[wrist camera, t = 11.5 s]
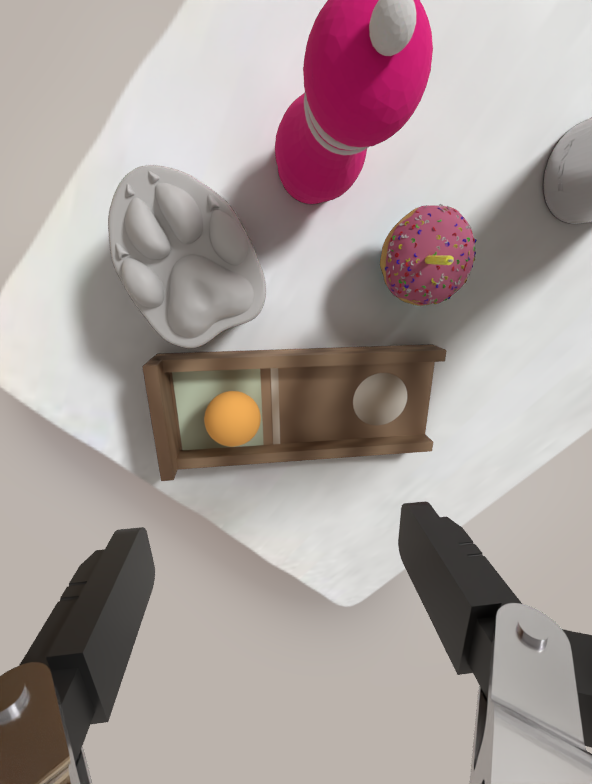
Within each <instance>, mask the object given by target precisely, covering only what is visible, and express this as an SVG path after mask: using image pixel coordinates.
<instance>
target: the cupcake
mask: <svg viewBox="0 0 592 784" xmlns="http://www.w3.org/2000/svg"><path fill="white" fill-rule="evenodd" d="M475 242H476V239H474V237H473V233H472V230H471V227H470V225H469V224H468V222H467V221H466V220H465V218H464V217H463V216H462V215H461V214H460V213H459V212H458V211H457V210H456V209H454V208H451V207H448V206H447V207H446V206H443V205H441V204H440V205H439V206H427V205H426V206H421V207H418V208H416V209H414V210H413V211H411V212H410V213H409V214H407V215H406V216H405V217H404V218H402V219H401V220H400V221H399V222H398V223H397V224H396V225H395V226H394V227H393V229H392V230H391V231H390V233H389V234H388V236H387V238H386V239H385V242H384V244H383V247H382V254H381V259H380V267H381V270H382V273H383V276H384V281H385V284H386V285H387V286H388V288H389V290H390V291H391V293H392V294H393V295H395V296H396V297H398V298H399V299H400V300H402V301H404V302H407V303H410V304H413V305H417V306H423V305H429V304H432V303H434V304H437V303H440V302H442V301H444V300H447V298H448V299H449V298H450V297H451V295H453V294H454V293H455V292H456V291H458V290H459V289H460V288H461V287H462V286H463V284H464V283H466V281H467V277H468V276H469V275H470V274H469V273H470V271H471V268H472V267H473V261H475V258H474V257H475V254H476V252H475ZM474 253H475V254H474Z"/></svg>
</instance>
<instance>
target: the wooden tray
mask: <svg viewBox="0 0 592 784" xmlns="http://www.w3.org/2000/svg"><path fill="white" fill-rule="evenodd" d="M445 357H446V350H445V349H442V348H440V347H437V346H435V345H432V344H430V345H400V346H371V347H341V348H312V349H282V350H253V351H223V352H194V353H164V354H156V355H155V356H154V357H153V358H152V359H150V360H149V361H148V362H147V363H146V364H145V365H144V366H143V372H144V379H145V385H146V391H147V397H148V403H149V409H150V415H151V421H152V427H153V433H154V439H155V446H156V452H157V458H158V464H159V470H160V476H161V481H169V480H174V478H175V475H176V472H177V470H178V469H190V468H204V467H218V466H232V465H246V464H260V463H274V462H288V461H302V460H316V459H330V458H343V457H357V456H371V455H385V454H399V453H413V452H427V451H432V447H433V441H432V440H431V439H430V438H428V437H427V436H426V435H425V430H426V423H427V415H428V408H429V400H430V393H431V385H432V378H433V371H434V363H435V362H439V361H445ZM228 391H239V392H242V393H245V394H247V395H248V396H250V397H251V398H252V399H253V400H254V401H255V402H256V404H257V406H258V408H259V410H260V415H261V422H260V427H259V429H258V431H257V433H256V435H255V436H254V437H253V438H252V439H251V440H250V441H249V442H247V443H245V444H243V445H240V446H235V447H229V446H224V445H221V444H219V443H217V442H216V441H215V440H213V439H212V438H211V437H210V435H209V434H208V432H207V430H206V427H205V422H204V416H205V411H206V408H207V406H208V405H209V403H210V402H211V401H212V399H214V398H215V397H216V396H217V395H219V394H221V393H224V392H228Z"/></svg>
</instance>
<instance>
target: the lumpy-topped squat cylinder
mask: <svg viewBox="0 0 592 784" xmlns="http://www.w3.org/2000/svg"><path fill="white" fill-rule="evenodd" d="M108 231H109V242H110V251H111V258H112V262H113V265H114V267H115V270H116V272H117V274H118V276H119V278H120V279H121V281H122V283H123V285H124V287H125V289H126V291H127V292H128V294H129V296H130V297H131V299H132V300H133V302H134V303H135V305H136V306H137V308H138V309H139V310H140V312H141V313H142V314H143V315H144V317H145V318H146V319H147V321H148V322H149V323H150V325H151V326H152V327H153V328H154V330H155V331H156V332H157V333H158V334H159V335H160V336H161V337H162V338H163V339H165V340H166V341H168V342H169V343H171V344H174V345H176V346H180V347H184V348H197V347H200V346H202V345H204V344H206V343H207V342H209V341H210V340H212V339H213V338H214V337H215V336H217V335H218V334H220V333H221V332H223V331H224V330H226V329H229V328H231V327H234V326H238V325H241V324H244V323H247V322H249V321H251V320H253V319H254V318H255V317H256V316H257V315H258V314H259V313H260V312H261V310H262V308H263V305H264V302H265V297H266V283H265V278H264V274H263V271H262V268H261V266H260V263H259V261H258V258H257V255H256V253H255V250H254V248H253V246H252V243H251V241H250V239H249V237H248V235H247V233H246V231H245V229H244V228H243V226H242V224H241V222H240V220H239V219H238V217H237V215H236V214H235V212H234V211H233V209H232V208H231V206H230V205H229V204H228V203H227V202H226V201H225V200H224V199H223V198H222V197H221V196H219V195H218V194H217V193H216V192H215V191H213V190H212V189H211V188H209V187H208V186H206V185H205V184H203V183H202V182H201V181H199V180H197V179H196V178H194V177H193V176H191V175H189V174H187V173H184V172H182V171H179V170H176V169H173V168H168V167H164V166H157V165H146V166H141V167H138V168H136V169H134V170H133V171H131V172H129V173H128V174H127V175H126V176H125V177H124V178H123V179H122V181H121V182H120V183H119V185H118V187H117V189H116V191H115V194H114V196H113V199H112V203H111V206H110V210H109V218H108Z"/></svg>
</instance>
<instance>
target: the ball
mask: <svg viewBox="0 0 592 784" xmlns="http://www.w3.org/2000/svg"><path fill="white" fill-rule="evenodd" d="M204 422H205V427H206V430H207V432H208V434H209V435H210V437H211V438H212V439H213V440H215V441H216V442H217V443H219V444H221V445H224V446H229V447H235V446H240V445H243V444H245V443H247V442H249V441H250V440H251V439H252V438H253V437H254V436H255V435H256V433H257V431H258V429H259V427H260V422H261V415H260V410H259V408H258V406H257V404H256V402H255V401H254V400H253V399H252V398H251V397H250V396H248V395H247V394H245V393H242V392H239V391H228V392H224V393H221V394H219V395H217V396H216V397H215V398H214V399H212V401H211V402H210V403H209V405H208V406H207V408H206V411H205V416H204Z"/></svg>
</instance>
